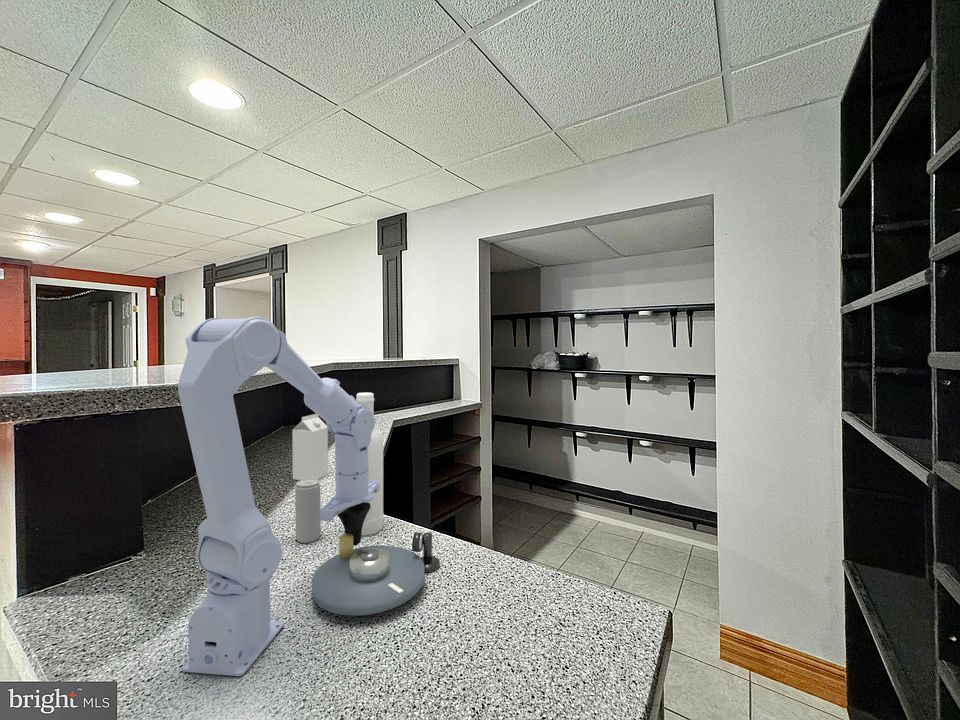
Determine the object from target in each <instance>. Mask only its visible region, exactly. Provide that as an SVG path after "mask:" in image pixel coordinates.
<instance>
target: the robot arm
mask: <svg viewBox="0 0 960 720" xmlns="http://www.w3.org/2000/svg"><path fill="white" fill-rule="evenodd" d="M185 343H186V349H187V353H186V356H185V359H184V362H183V367H182V369H181V373H180V377H179V380H178V382H177V393H178V397H179V401H180V405H181V409H182V410H181V411H182V414H183V418H184V423H185V427H186V432H187V435H188V440H189V444H190V449H191V453H192V457H193V463H194V466H195V471H196V475H197V479H198V484H199V488H200V492H201V497H202V501H203V506H204V509H205V514H206V517H207V518H205V520H203V521H202V522H201V523H200V524H199V525H198V527H197V533H198V544H197V548H196V552H195V560H196V564H197V565H198V567H200V569H202V570H203V571H206V580H207V590H206V594H205V596H204V598H203V600H202V602H201V604H200V605H198V607H197V608H196V609H195V611H193V613H192V614H191V616H190V618H189V621H188V624H187V625H188V627H187V630H188V632H187V633H188V635H187V636H188V637H187V639H188V641H187V642H188V644H187V645H188V646H187V647H188V661H187V662H186V663H185V664H184V665H183V666H182V672H186V673H195V674H196V673H197V674H206V675H207V674H209V675H219V676H232V677H241V676H243V675H244V674H246V673H247V671H248V670H249V669H250V668H251V666H252V665H253V664H254V662H255V661H257V659H258V657H259V656H260V655H261V654H262V653H263V651H264V650H265V649H266V648H267V647H268V646H269V644H271V642H272V641H273V640H274V639H275V637H276V636H277V635H278V634H279V632H280V631H281V629H282V628H283V627H284V624H285V623H284V622H283V621H275V620H271V586H270V585H271V583H270V581H271V579H272V578H273V575H274V574H275V572H276V570H277V569H278V566H279V564H280V562H281V560H282V553H283V548H282V544H281V541H280V539H278V538H277V537H276V536H275V535H274V533H273V530H272V525H271V523H270V522H269V521H268V519H267V518H266V517H265V516H264V514H262V512H261V511H260V510H259V509H258V508H257V506H256V504H255V499H254V494H253V493H254V492H253V489H252V485H251V484H252V483H251V479H250V473H249V469H248V464H247V459H246V454H245V450H244V445H243V440H242V435H241V434H242V433H241V429H240V424H239V419H238V415H237V409H236V404H235V399H234V394H235V393H236V391H237V390H238V389H239V388H240V387H241V385H242V384H243V383H244V382H245V381H247V380H248V379H249V378H251V377H253V376H254V375H255V374H257V373H258V372H259V371H260V370H262V369H263V368H268V369H270V370H271V371H272V372H273V373H275V374H276V375H278V376H279V377H280V378H281V379H283V380H285V381H286V382H287V383H288V384H290V385H291V386H293V387H294V388H296V389H297V390H298V391H300V392H301V393H302V394H303V395H304V396H303V402H304V404H305V406H306V407H307V408H309V409H310V410H311V411H313V412H314V414H317V415H318V417H319V418H320V419H321V420H322V419H323V420H324V421H325V422H326V423H325V425H326V426H327V428H328V432H329V433H332V434H334V461H335V462H334V466H335V467H334V471H335V472H334V473H335V475H334V477H335V478H334V479H335V494H334V495H333V497H331V499H330V500H329V501H328V502H327V503H326V504H325V505H324V506H323V507H320V520H321V521H323V522H328V523H330V522H332V521H333V520H334V517H336V516H337V517H338V518H339V519H340V520H339V521H341V524H342V525H343V528H344V534H347V533H349V534H353V547H354V546H355V547H356V546H357V545H359V544H360V543H361V540H362V536H361V533H362V526H363V523H364V520H365V518H366V515H367V513H368V511H369V510H370V503H368V502H370V501H371V500H373V499H374V496H373V495H372V493H377V492H379V491H380V482H378V481H369V474H368V445H370V442H371V433H372V431H373V429H374V426H376V418H375V417H374V416H373V413H372V411H371V410H370V409H369V408H368V407H367V406H365V405H358V404H357V402H356V398H355V397H354V396H353V395H349V394H348V393H347V392H346V391H345V390H344V389H343V388H342V387H341V386H340V384H341V382H340V381H339V380H338V379H336V378H330V377H322V378H321V377H320V376H319V375H318V374H317V373H316V372H315V371H314V370H313V369H312V367H311V366H309V364H308V363H307V362H306V361H304V359H303V358H302V357H301V356H300V355H299V354H298V353H297V351H296V350H294V348H293V347H292V346H291V345H290V344H289V343H288V339H287V335H286V334H285V333H284V332H283V331H282V330H280V329H277V327H276V325H275V324H274V322H273V323H272V321H270V320H269V319H267V318H266V317H261V316H250V317H245V318H220V317H212V318H208V319H205V320H203V321H201V323H200V324H198V325H197V326H196V327H195V328H194V329H193V330H192V331H191V332H190V334H188V335H187V336H186V337H185Z"/></svg>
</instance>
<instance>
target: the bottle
mask: <svg viewBox="0 0 960 720" xmlns="http://www.w3.org/2000/svg"><path fill="white" fill-rule="evenodd" d="M355 401H356V402H357V404H358V405H365V406H367V407H368V408H369V409H370V410H371V411H372V413H373V416H374V412H375V411H374V409H375V408H374V402H375V397H374V393H373V392H357V394H356V398H355ZM368 474H369V481H378V482H380V491H379V492H377V493H372V495H373V496H374V499H373V500H371V501H370V502H368V503H370V510H369V511H368V513H367V515H366V518H365V520H364V523H363V526H362V533H361V537H367V536H371V535H375V534H377V533H379V532H381V530H382V529H383V528H384V519H385V518H384V516H385V515H384V437H383V435H382V432H381V430H380V429H379V428H378V427H377V426H376V425H375V426H374V429H373V431H372V433H371V442H370V445H368Z"/></svg>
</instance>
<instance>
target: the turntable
mask: <svg viewBox="0 0 960 720" xmlns="http://www.w3.org/2000/svg"><path fill="white" fill-rule="evenodd" d="M338 540H339V541H338V545H339V546H338V548H339V549H338V554H337V555H334V556H332V557H331V558H329V559H327V560H326V561H324V562H323V563H322V564H321V565H320V566H319V567H318V568H317V569H316V570H315V572H314V573H313V576H312V578H311V597H312V599H313V601H314V603H315V604H317V605H318V607H320V608H321V609H323V610H325V611H327V612H330V613H333V614H336V615H342V616H351V617H352V616H356V617H357V616H358V617H359V616H369V615H374V614H379V613H384V612H386V611H391V610H392V609H395V608H397V607H399V606H401V605H403V604H405V603H406V602H408V601H409V600H411V599H412V598H413V597H414V596H416V594H418V593H419V591H420V590H421V589H422V587H423V585H424V582H425V573H424V563H423V561H422V559H421V557H420V556H419V555H418V554H417V553H415V552H413V550H410V549H406V548H405V547H399V546H395V545H385V544H384V545H383V544H382V545H367V546H362V547H361V546H360V547H357V548H354V545H353V534H349V533H347V534H345V533H343V534H341V535H340V536H339V537H338ZM367 548H381V549H385V550H386V551H388V552H389V554H390V572H389V574H388V575H387V576H386V577H385V578H384V579H382V580H380V581H378V582H374V583H368V584H362V583H357V582H354V581H352V580H351V578H350V557H351V556H352V555H353V554H354V553H356V552H357V551H360V550H363V549H367ZM390 609H391V610H390Z"/></svg>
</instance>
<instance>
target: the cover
mask: <svg viewBox="0 0 960 720" xmlns="http://www.w3.org/2000/svg"><path fill="white" fill-rule="evenodd" d="M389 572H390V554H389V552H388V551H386V550H385V549H381V548H367V549H363V550H360V551H357V552H356V553H354V554H353V555H352V556H351V557H350V578H351V580H352V581H354V582H357V583H362V584H368V583H374V582H378V581H380V580H382V579H384V578H385V577H386V576H387V575H388V574H389Z"/></svg>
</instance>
